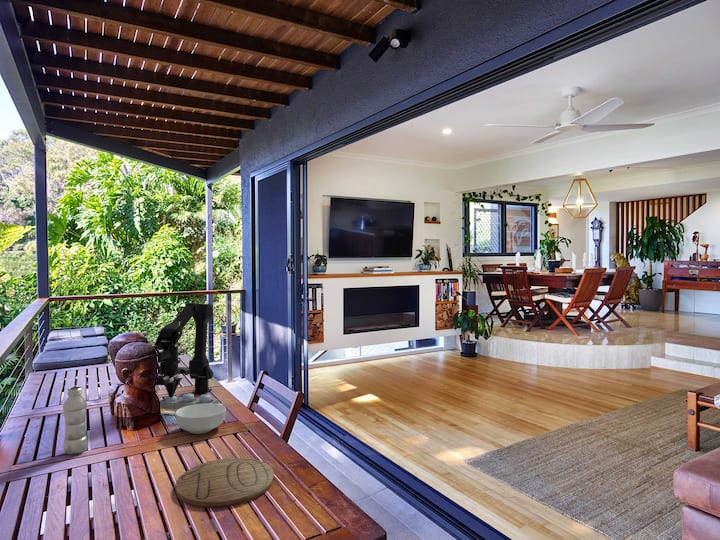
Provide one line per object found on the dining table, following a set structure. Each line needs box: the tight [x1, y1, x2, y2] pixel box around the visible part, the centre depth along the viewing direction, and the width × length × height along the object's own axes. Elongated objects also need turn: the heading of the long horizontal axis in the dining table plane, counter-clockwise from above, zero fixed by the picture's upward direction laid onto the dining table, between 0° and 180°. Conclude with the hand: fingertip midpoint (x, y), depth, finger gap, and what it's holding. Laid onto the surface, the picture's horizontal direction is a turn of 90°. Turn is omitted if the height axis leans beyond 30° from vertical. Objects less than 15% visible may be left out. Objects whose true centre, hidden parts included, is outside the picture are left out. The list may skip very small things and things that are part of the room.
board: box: [158, 396, 224, 416], centre depth 185 cm, size 14×24×3 cm, turn 79°
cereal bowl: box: [174, 403, 227, 435], centre depth 163 cm, size 17×17×7 cm
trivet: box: [174, 457, 275, 509], centre depth 124 cm, size 25×25×2 cm
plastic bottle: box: [62, 386, 89, 455], centre depth 144 cm, size 6×7×20 cm
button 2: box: [181, 392, 195, 403], centre depth 186 cm, size 4×4×3 cm
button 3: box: [198, 393, 212, 404], centre depth 185 cm, size 4×4×3 cm
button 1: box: [164, 395, 178, 402], centre depth 187 cm, size 4×4×3 cm
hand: (171, 397), depth 187 cm, fingers closed, pressing on button 1
